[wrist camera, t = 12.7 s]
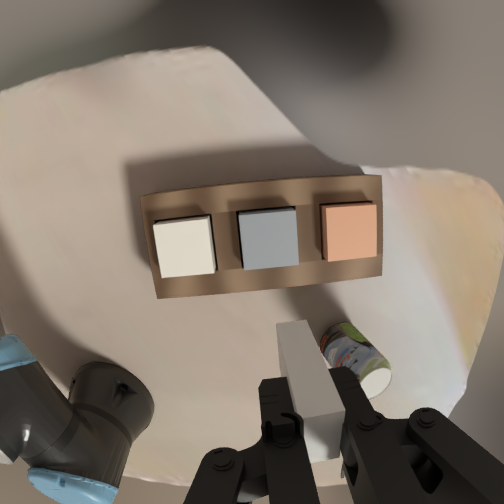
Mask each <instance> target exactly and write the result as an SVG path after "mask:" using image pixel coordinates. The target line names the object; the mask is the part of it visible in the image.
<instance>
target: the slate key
mask: <svg viewBox="0 0 504 504" xmlns="http://www.w3.org/2000/svg"><path fill="white" fill-rule="evenodd" d="M239 223H240V233H241V243H242V253H243V262H244V270H254V269H264V268H274V267H284V266H293V265H299V255H298V237H297V221H296V210H294V209H293V208H292V207H290V206H284V207H272V208H261V209H251V210H241V211H239Z"/></svg>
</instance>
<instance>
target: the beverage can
mask: <svg viewBox="0 0 504 504" xmlns="http://www.w3.org/2000/svg"><path fill="white" fill-rule="evenodd" d="M320 350H321V353H322V354H323V356H324V357H325V358H326V360H327V361H328V363H329V364H330V366H331V367H332V368H336V367H341V366H346V367H348V368H349V369H351V370H352V371H353V372H354V373H355V375H356V377H357V379H358V381H359V383H360V385H361V387H362V388H363V390H364V392H365V394H366V396H367V398H368V400H370V399H373V398H376V397H377V396H379V395H380V394H382V393H383V392H384V391H385V390H386V389H387V387H388V386H389V384H390V382H391V380H392V372H391V367H390V364H389V362H388V360H387V359H386V358H385V357H384V356H383V355H382V354H381V353H380V352H379V351H378V350H377V349H376V348H375V347H374V346H373V345H372V344H371V343H370V342H369V341H368V340H367V339H366V338H365V337H364V336H363V335H362V334H361V333H360V332H359V331H358V330H357V329H356V328H355V327H354V326H353V325H352V324H350V323H339V324H336V325H334V326H332V327H331V328H329V329H328V330H327V331H326V332H325V334H324V335H323V337H322V339H321V342H320Z"/></svg>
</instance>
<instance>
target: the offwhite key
mask: <svg viewBox="0 0 504 504" xmlns="http://www.w3.org/2000/svg"><path fill="white" fill-rule="evenodd" d="M153 229H154V236H155V242H156V248H157V254H158V260H159V265H160V271H161V276H162V278H167V277H179V276H190V275H201V274H212V273H214V272H215V268H216V264H217V258H216V251H215V243H214V234H213V226H212V218H211V214H203V215H194V216H185V217H177V218H169V219H162V220H160V221H159V222H157V223H156V224H154V225H153Z"/></svg>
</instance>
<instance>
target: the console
mask: <svg viewBox="0 0 504 504" xmlns="http://www.w3.org/2000/svg"><path fill="white" fill-rule="evenodd" d="M352 201H365V202H369V203H372V204H376V211H377V256H375V257H366V258H358V259H349V260H340V261H331V262H328V261H327V260H326V259H325V258H324V257H323V256H322V255H321V232H320V212H319V204H322V203H336V202H352ZM140 202H141V209H142V216H143V223H144V229H145V236H146V242H147V248H148V253H149V259H150V265H151V270H152V275H153V280H154V285H155V290H156V295H157V299H163V298H177V297H190V296H202V295H214V294H225V293H236V292H247V291H257V290H267V289H276V288H286V287H295V286H304V285H312V284H321V283H329V282H337V281H345V280H353V279H361V278H368V277H376V276H382V257H383V201H382V177H381V175H369V174H357V175H333V176H314V177H298V178H284V179H271V180H259V181H248V182H238V183H228V184H219V185H210V186H202V187H194V188H186V189H178V190H171V191H164V192H157V193H151V194H147V195H144V196H140ZM284 206H290V207H292V208H293V209H294V210H296V221H297V237H298V255H299V265H293V266H284V267H274V268H264V269H254V270H244V262H243V253H242V243H241V233H240V223H239V211H241V210H251V209H261V208H272V207H284ZM203 214H211V218H212V226H213V234H214V243H215V251H216V258H217V264H216V268H215V272H214V273H212V274H201V275H190V276H179V277H167V278H162V276H161V271H160V265H159V260H158V254H157V248H156V242H155V236H154V229H153V225H154V224H156V223H157V222H159V221H160V220H162V219H169V218H177V217H185V216H194V215H203Z"/></svg>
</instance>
